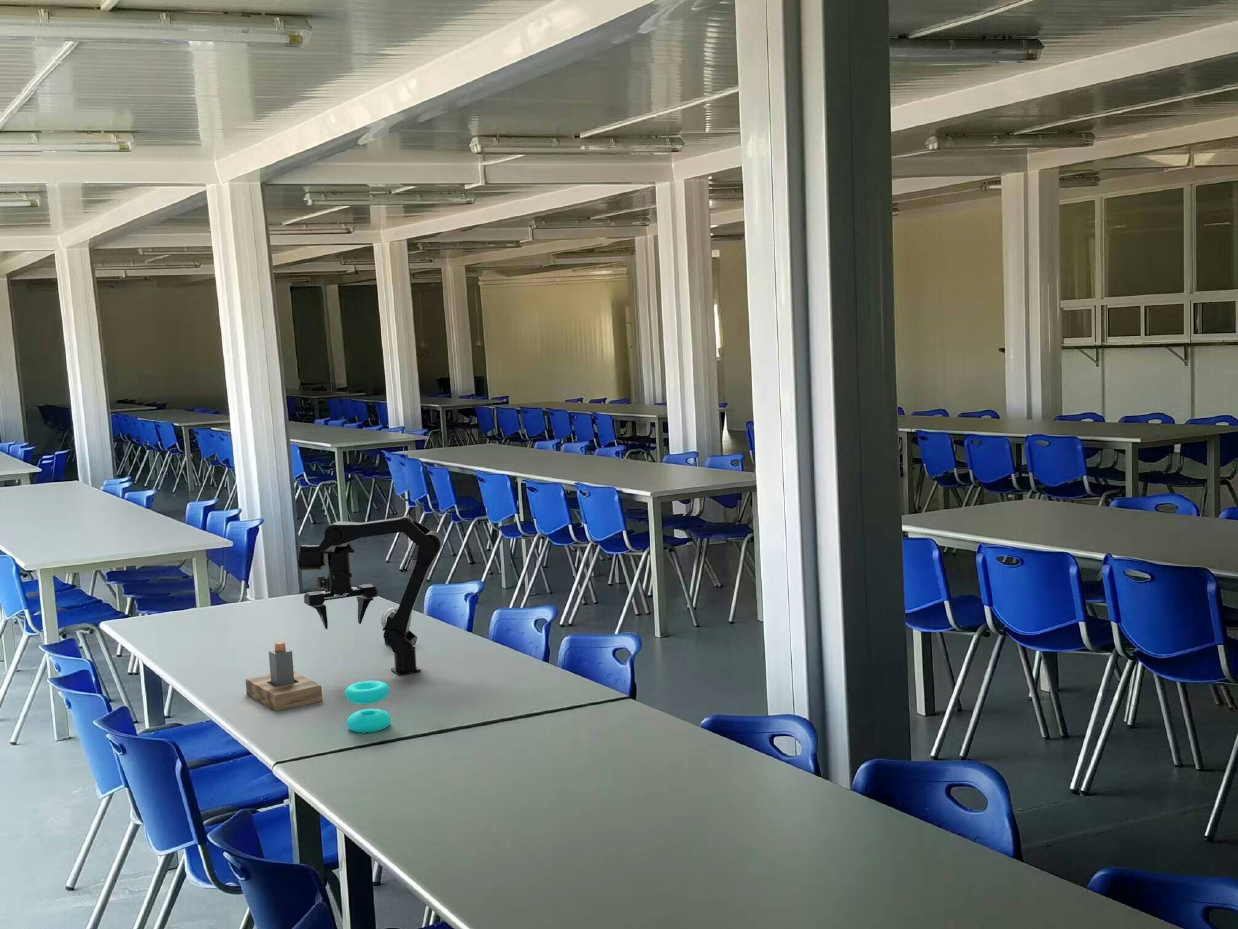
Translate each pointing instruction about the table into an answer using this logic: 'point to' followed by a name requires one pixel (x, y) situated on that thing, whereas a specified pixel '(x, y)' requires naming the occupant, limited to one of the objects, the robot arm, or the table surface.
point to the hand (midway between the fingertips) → (343, 626)
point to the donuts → (369, 717)
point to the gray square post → (281, 665)
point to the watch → (386, 616)
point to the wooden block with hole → (284, 692)
